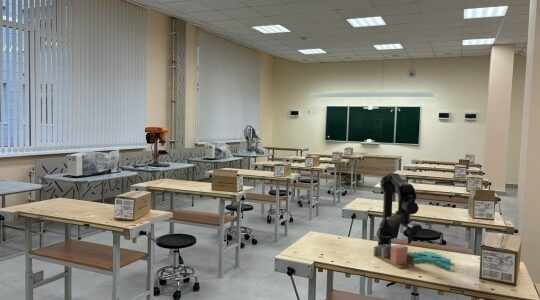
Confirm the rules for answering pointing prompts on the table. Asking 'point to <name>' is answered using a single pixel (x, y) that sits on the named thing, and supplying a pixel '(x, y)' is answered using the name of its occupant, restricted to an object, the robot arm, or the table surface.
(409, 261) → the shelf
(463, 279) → the table surface
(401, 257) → the salmon pink block
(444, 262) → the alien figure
